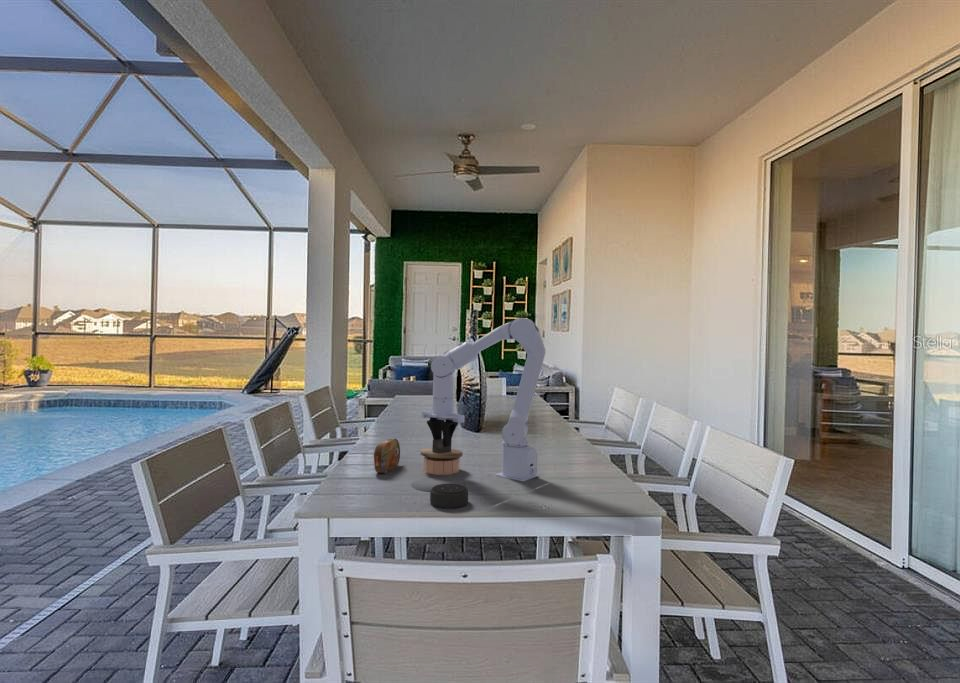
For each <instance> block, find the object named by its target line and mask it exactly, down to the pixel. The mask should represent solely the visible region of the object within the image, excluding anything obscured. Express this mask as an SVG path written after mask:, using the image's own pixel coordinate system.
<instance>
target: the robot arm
mask: <svg viewBox="0 0 960 683" xmlns="http://www.w3.org/2000/svg"><path fill="white" fill-rule="evenodd" d="M503 340H506V341H507V340H515V341H516V342H518V343H519V345H521V347H522V348H523V349H524V351H525V353H526V359H525V363H524V366H523V370H522V374H521V377H520V382H519V385H518V389H517V391H516V396H515V399H514V404H513V406H512V410H511V413H510V414H509V419H508V422H507V423H506V424H505V425H504V426H503V428H502V430H501V438H502V440H503V441H502V442H501V443H502V445H501V472H497V473H495V474H494V475H495V476H496V477H499V478H503V479H504V478H505V479H509V480H514V481H520V482H526V481H529V480H532V479H534V478H536V477H537V478H538V477H539V474H538V452H537V449H536V448H535V447H532V446H530V445H529V441H528V440H527V438H526V436H527V435H528V433H529V425H528V424H529V423H528V421H529V416H530V411H531V407H532V403H533V399H534V396H535V392H536V389H537V385H538V382H539V378H540V374H541V370H542V366H543V364H544V363H543V362H544V359H545V356H546V347H545V344H544V342H543V338H542V336H541V331H540V329H539V327H538V326H537V325H536V324H535V322H534V321H533V320H532V319H529V318H525V317H518V318H516V319H514V320H512V321H508V322H507V323H504V324H502V325H500V326H498V327H496V328H494V329H492V331H490V332H487V333H486V334H485V335H483V336H482V337H480V338H479V339H477V340H475V341H473V342H471V341H464V342H463V341H460V342H459V343H457V345H458V346H456V347H455V348H452V349H450V350H449V351H448V350H445V351H444V352H443V355H438V356H436V357H435V358H434V359H433V360H432V362H431V363H430V364H431V365H430V369H431V371H432V373H433V382H432V410H421V418H422V419H426V418H427V419H428V420H427V421H426V425H427V426H428V427H429V428H428V429H429V430H430V432H431V435H432V436H431V437H432V441H433V440H436V439H443V446H444V447H447V446H450V443H451V444H452V442H451V440H452V439H453V436H454V434H455V433H454V432H455V430H456V429H457V427H458V425H459V424H462V423H465V418H466V417H465V415H462V414H459V413H455V412H454V409H453V408H454V372H455V371H456V370H459V369H461V368H463V367H464V366H467V365H468V364H470V363H472V362H473V361H475V360H477V357H478V355H479V353H480V352H482V351H483V350H486V349H487V348H489V347H491V346H494V345H495V344H497V343H499V342H501V341H503Z"/></svg>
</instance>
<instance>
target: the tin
mask: <svg viewBox="0 0 960 683" xmlns="http://www.w3.org/2000/svg"><path fill="white" fill-rule="evenodd" d="M400 457H401V447H400V443H399V440H398V439H397V438H389V439H385V440H384V441H382V442H380V443H379V444H377V445H376V446H375V448H374V452H373V458H374V459H373V460H374V470H375V472H376V473H377V474H387V473H388V472H390V471H391V470H393V469H395V468H397V467H398V465H399V462H400Z"/></svg>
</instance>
